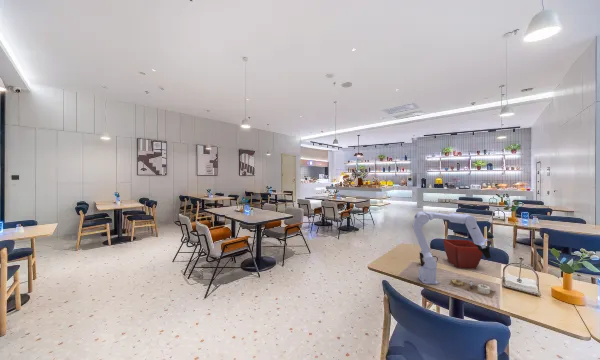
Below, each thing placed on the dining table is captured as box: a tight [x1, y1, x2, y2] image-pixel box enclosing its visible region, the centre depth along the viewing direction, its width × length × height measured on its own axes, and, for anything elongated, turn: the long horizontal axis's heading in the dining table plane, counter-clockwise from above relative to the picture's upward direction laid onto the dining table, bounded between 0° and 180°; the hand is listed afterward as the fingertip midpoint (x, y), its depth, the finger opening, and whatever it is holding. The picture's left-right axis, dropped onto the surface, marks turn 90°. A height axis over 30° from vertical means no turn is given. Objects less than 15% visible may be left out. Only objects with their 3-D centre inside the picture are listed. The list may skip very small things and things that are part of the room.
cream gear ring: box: [477, 284, 491, 294], centre depth 134 cm, size 5×5×3 cm
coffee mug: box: [419, 250, 439, 267], centre depth 173 cm, size 12×9×10 cm
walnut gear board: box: [447, 278, 497, 299], centre depth 138 cm, size 21×11×4 cm, turn 42°
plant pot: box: [442, 238, 484, 270], centre depth 175 cm, size 19×19×17 cm
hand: (486, 255), depth 139 cm, fingers open, 7 cm apart
